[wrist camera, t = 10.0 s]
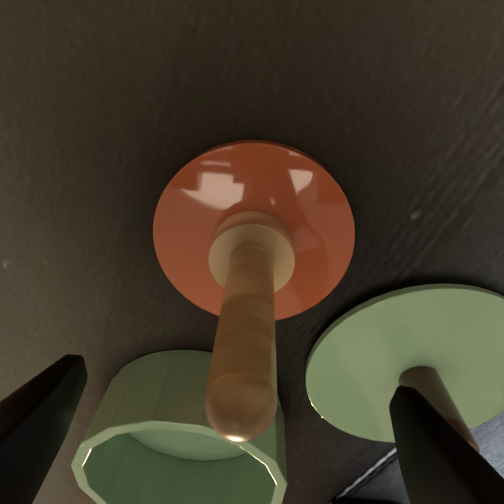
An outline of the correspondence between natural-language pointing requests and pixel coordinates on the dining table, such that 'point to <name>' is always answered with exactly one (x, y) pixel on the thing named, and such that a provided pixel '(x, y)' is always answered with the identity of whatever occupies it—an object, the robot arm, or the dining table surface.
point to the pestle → (246, 323)
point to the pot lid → (412, 359)
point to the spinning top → (255, 199)
